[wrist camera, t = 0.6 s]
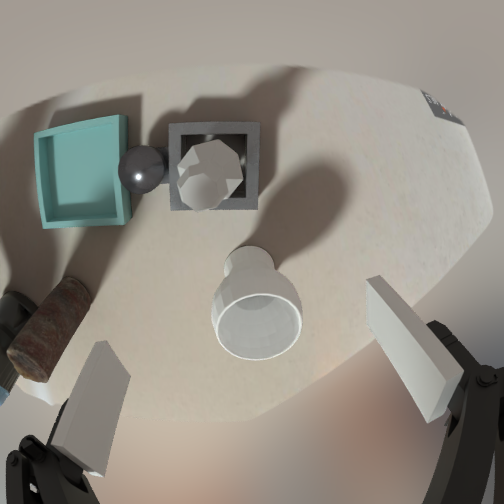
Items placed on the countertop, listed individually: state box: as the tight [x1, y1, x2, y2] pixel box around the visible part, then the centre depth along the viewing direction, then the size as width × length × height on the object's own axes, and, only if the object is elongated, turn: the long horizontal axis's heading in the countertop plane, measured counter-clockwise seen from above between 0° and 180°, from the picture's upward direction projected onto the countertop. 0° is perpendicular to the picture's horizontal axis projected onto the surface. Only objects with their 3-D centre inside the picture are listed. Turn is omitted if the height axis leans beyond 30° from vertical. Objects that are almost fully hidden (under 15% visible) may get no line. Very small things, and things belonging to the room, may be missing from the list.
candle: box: [7, 277, 91, 383], centre depth 33 cm, size 8×7×20 cm
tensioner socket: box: [118, 122, 260, 211], centre depth 34 cm, size 18×11×6 cm, turn 89°
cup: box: [211, 246, 303, 360], centre depth 36 cm, size 11×11×15 cm
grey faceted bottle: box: [177, 139, 243, 212], centre depth 27 cm, size 6×6×22 cm
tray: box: [34, 115, 132, 229], centre depth 33 cm, size 15×15×4 cm
